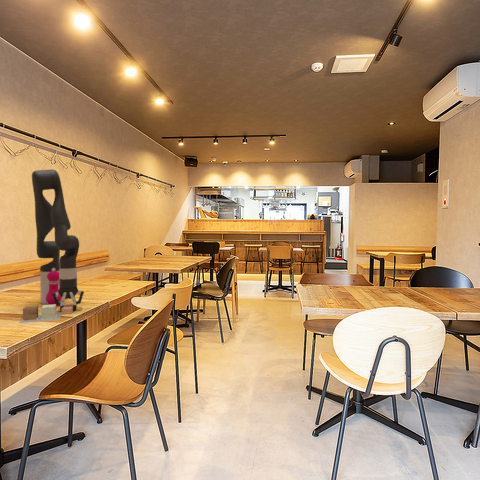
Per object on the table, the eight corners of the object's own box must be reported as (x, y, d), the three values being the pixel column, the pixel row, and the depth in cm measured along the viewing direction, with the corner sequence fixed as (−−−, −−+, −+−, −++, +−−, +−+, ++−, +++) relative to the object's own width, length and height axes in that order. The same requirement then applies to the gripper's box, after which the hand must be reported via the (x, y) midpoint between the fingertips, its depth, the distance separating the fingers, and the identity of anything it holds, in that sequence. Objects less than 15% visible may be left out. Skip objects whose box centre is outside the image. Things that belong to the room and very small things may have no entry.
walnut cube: (25, 317, 149) (25, 306, 148) (38, 316, 151) (38, 305, 150) (23, 320, 144) (22, 309, 144) (36, 319, 146) (36, 308, 146)
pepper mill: (50, 305, 177) (49, 267, 176) (64, 305, 178) (63, 267, 177) (43, 308, 170) (42, 269, 169) (58, 308, 170) (57, 269, 169)
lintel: (66, 311, 166) (66, 303, 166) (75, 310, 167) (75, 302, 167) (61, 317, 155) (61, 309, 155) (71, 317, 156) (71, 308, 156)
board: (24, 318, 152) (24, 315, 152) (62, 315, 157) (62, 312, 157) (18, 326, 140) (18, 323, 140) (59, 322, 146) (59, 319, 146)
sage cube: (43, 316, 151) (43, 305, 151) (56, 315, 153) (56, 304, 153) (41, 319, 147) (41, 307, 147) (54, 317, 149) (54, 306, 149)
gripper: (49, 279, 154) (50, 316, 155) (84, 277, 160) (84, 313, 160) (52, 277, 161) (52, 312, 162) (85, 275, 166) (85, 310, 167)
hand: (68, 312), depth 161 cm, fingers closed on lintel, 4 cm apart
